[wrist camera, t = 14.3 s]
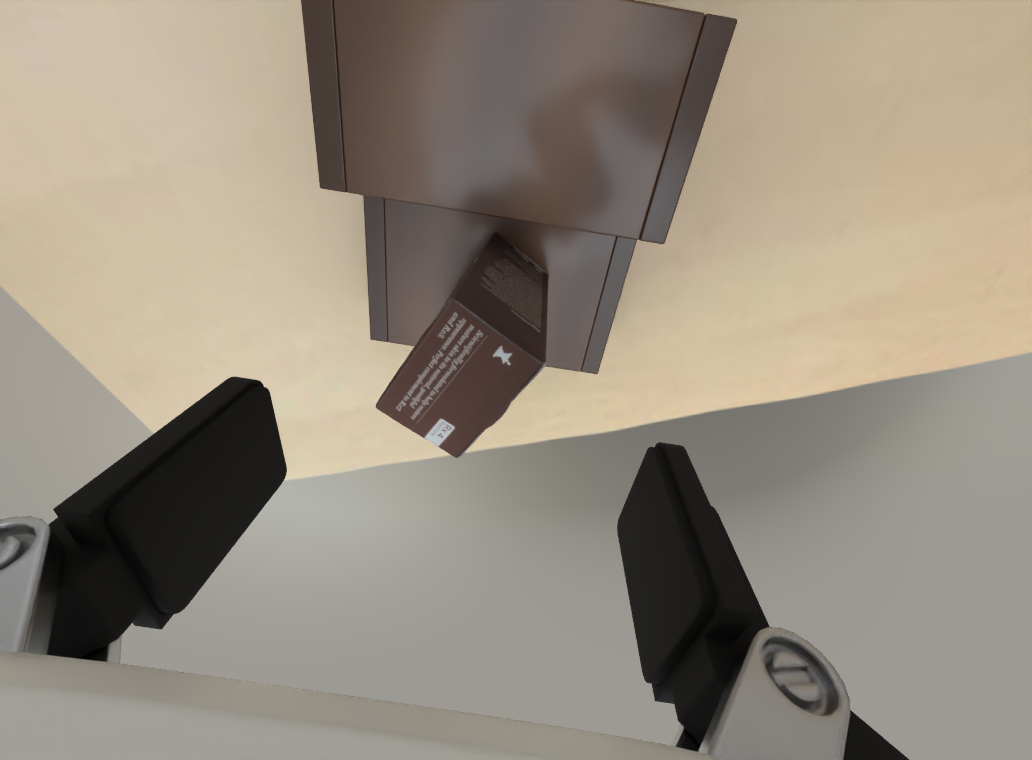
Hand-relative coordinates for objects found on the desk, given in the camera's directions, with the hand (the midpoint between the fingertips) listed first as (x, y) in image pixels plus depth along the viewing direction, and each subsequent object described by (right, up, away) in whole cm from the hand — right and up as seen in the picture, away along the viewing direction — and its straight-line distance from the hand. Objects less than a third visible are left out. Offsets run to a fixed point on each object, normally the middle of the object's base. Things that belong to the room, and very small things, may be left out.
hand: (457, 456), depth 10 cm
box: (0, +8, +15) cm, 17 cm away
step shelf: (+1, +15, +17) cm, 22 cm away
